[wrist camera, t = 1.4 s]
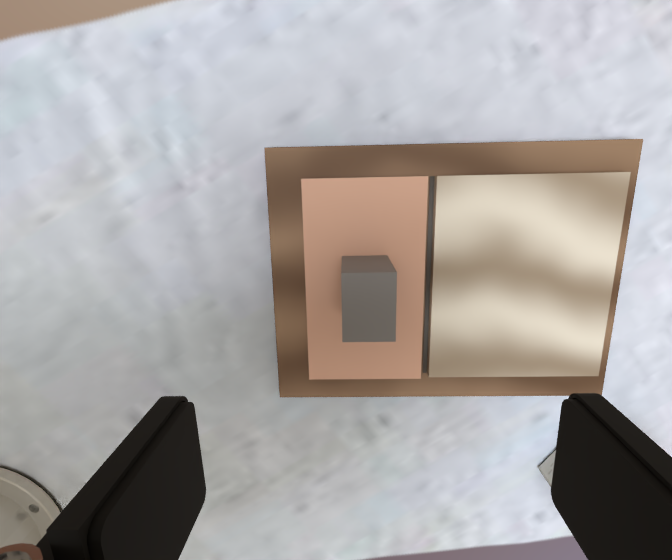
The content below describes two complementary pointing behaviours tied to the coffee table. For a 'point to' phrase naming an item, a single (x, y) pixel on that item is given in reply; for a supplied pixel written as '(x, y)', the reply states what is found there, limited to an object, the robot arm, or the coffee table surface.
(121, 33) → the coffee table surface
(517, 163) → the board
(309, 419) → the coffee table surface
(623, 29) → the coffee table surface
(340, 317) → the peach lid with handle
